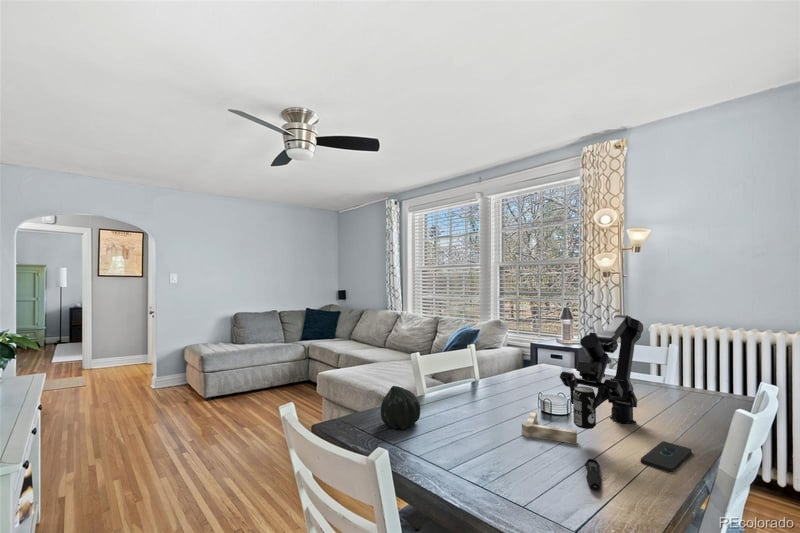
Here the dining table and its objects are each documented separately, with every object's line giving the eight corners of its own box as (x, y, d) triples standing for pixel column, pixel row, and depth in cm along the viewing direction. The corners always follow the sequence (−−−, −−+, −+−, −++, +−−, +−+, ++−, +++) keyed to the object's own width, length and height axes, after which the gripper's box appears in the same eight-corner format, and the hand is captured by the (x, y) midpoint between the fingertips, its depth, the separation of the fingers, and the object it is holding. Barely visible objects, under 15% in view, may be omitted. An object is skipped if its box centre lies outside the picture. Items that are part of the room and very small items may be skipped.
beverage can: (597, 424, 129) (596, 387, 129) (594, 431, 123) (593, 392, 124) (575, 420, 132) (575, 384, 133) (571, 426, 127) (571, 389, 127)
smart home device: (693, 448, 121) (672, 468, 108) (693, 454, 121) (672, 475, 108) (662, 440, 128) (639, 458, 115) (662, 445, 128) (639, 464, 115)
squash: (434, 411, 142) (413, 376, 149) (407, 424, 131) (385, 385, 138) (413, 430, 149) (393, 395, 156) (385, 443, 138) (365, 405, 145)
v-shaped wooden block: (534, 419, 149) (534, 410, 149) (580, 443, 128) (580, 432, 128) (505, 423, 145) (505, 414, 145) (547, 449, 124) (547, 437, 124)
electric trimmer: (586, 493, 99) (586, 480, 99) (584, 465, 113) (584, 454, 113) (603, 496, 98) (603, 484, 98) (599, 468, 112) (599, 457, 112)
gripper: (561, 348, 138) (546, 385, 131) (618, 356, 124) (604, 398, 117) (572, 367, 143) (558, 404, 136) (628, 376, 129) (615, 418, 122)
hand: (582, 405), depth 127 cm, fingers closed on beverage can, 6 cm apart
